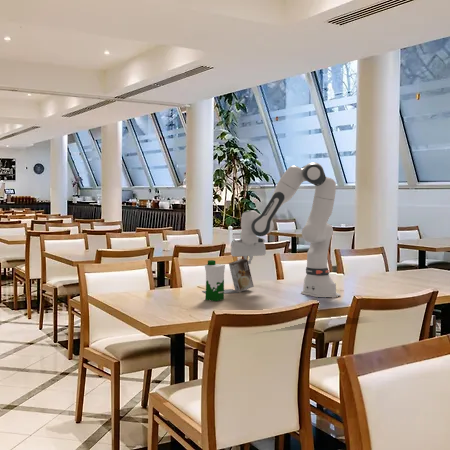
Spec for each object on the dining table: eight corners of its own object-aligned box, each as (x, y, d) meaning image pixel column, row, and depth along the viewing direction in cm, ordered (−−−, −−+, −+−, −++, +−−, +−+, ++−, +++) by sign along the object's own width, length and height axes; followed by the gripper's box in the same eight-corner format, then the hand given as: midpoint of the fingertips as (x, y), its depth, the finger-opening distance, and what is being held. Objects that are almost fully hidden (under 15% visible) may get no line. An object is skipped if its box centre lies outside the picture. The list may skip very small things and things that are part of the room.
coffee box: (248, 285, 331) (242, 258, 328) (254, 286, 325) (248, 259, 323) (234, 290, 327) (228, 263, 324) (240, 292, 321) (233, 264, 319)
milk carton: (212, 297, 305) (212, 259, 304) (226, 299, 300) (227, 260, 299) (202, 300, 298) (203, 261, 296) (217, 302, 293) (217, 262, 292)
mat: (239, 292, 320) (239, 292, 320) (208, 294, 313) (208, 294, 313) (231, 289, 329) (231, 289, 329) (202, 291, 322) (202, 291, 322)
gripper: (233, 240, 319) (233, 265, 319) (267, 239, 326) (266, 264, 327) (229, 239, 324) (228, 263, 325) (262, 238, 332) (261, 262, 333)
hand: (248, 263), depth 326 cm, fingers closed
